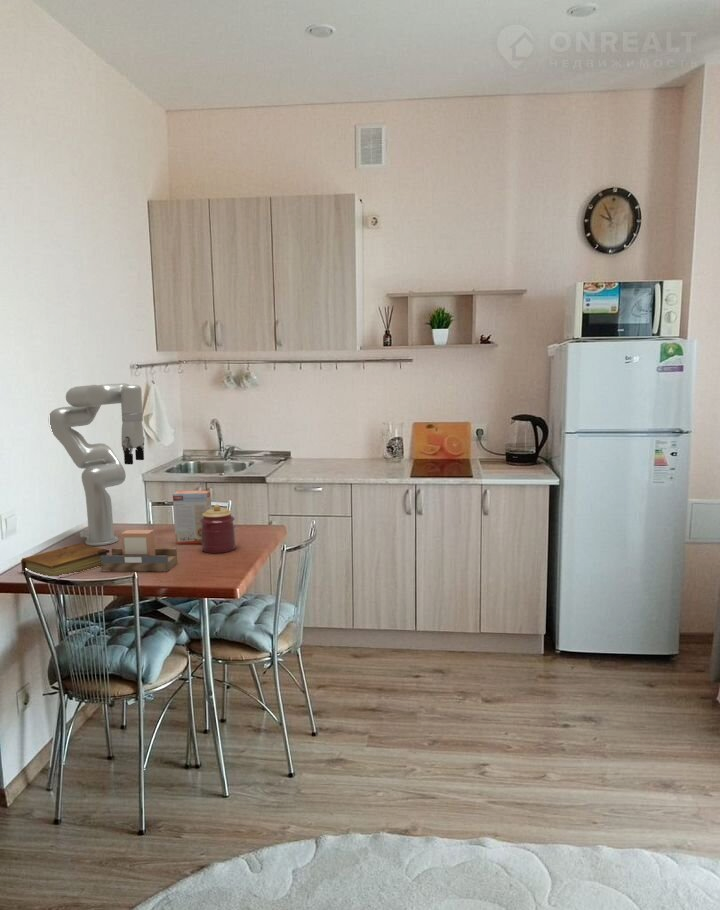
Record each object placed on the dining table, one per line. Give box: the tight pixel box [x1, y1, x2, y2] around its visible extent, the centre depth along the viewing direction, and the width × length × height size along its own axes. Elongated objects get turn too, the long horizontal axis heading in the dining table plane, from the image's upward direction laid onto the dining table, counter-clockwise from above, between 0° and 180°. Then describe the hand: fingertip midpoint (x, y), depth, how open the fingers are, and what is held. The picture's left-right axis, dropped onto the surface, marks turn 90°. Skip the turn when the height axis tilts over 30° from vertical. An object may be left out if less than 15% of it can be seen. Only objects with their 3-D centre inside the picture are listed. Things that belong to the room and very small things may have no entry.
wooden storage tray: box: [100, 547, 178, 573], centre depth 258 cm, size 24×11×6 cm, turn 85°
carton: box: [120, 529, 156, 555], centre depth 257 cm, size 5×10×10 cm, turn 84°
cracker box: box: [172, 490, 212, 545], centre depth 290 cm, size 14×6×21 cm, turn 84°
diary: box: [20, 543, 110, 576], centre depth 260 cm, size 23×19×6 cm
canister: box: [200, 504, 237, 554], centre depth 279 cm, size 13×13×18 cm
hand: (134, 462), depth 276 cm, fingers open, 9 cm apart
